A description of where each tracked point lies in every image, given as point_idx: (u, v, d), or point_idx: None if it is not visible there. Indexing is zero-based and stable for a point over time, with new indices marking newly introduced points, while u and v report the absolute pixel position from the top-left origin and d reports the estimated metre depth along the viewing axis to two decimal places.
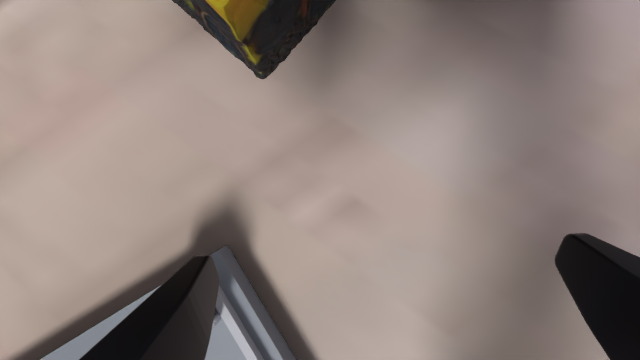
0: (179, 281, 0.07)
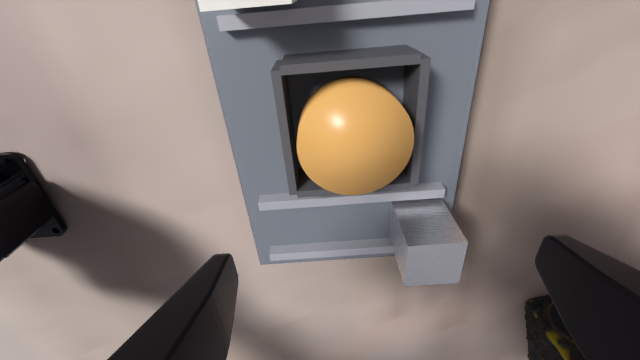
0: (202, 280, 0.07)
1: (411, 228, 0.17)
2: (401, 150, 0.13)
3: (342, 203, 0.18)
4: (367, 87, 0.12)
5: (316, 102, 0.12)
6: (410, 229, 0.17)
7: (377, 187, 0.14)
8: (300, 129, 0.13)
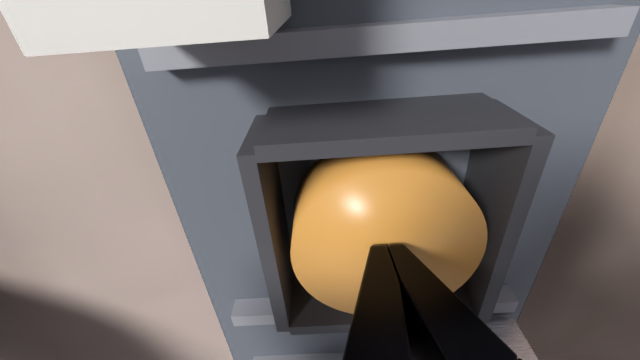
0: (381, 270, 0.07)
1: None
2: (462, 261, 0.08)
3: None
4: (415, 170, 0.07)
5: (325, 191, 0.07)
6: None
7: None
8: (297, 231, 0.08)
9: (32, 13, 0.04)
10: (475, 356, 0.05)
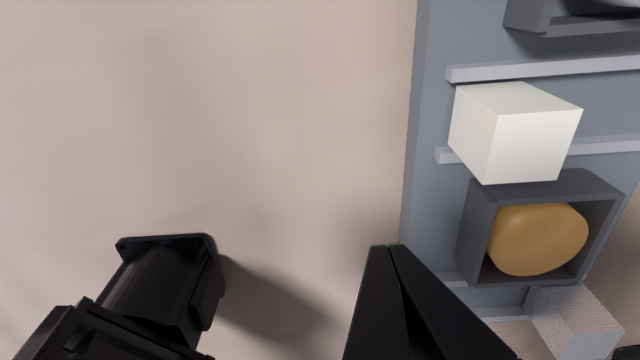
0: (381, 270, 0.07)
1: (567, 313, 0.19)
2: (573, 247, 0.17)
3: None
4: (562, 207, 0.16)
5: (519, 216, 0.16)
6: (567, 314, 0.19)
7: (545, 270, 0.18)
8: (501, 233, 0.17)
9: (493, 175, 0.13)
10: (475, 356, 0.05)
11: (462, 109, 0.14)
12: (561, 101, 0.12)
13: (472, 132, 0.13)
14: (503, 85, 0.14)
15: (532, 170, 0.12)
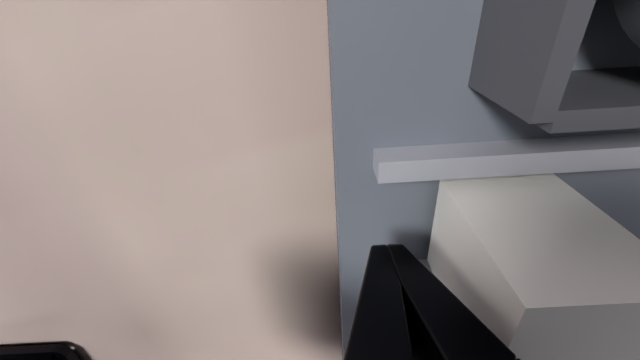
0: (382, 270, 0.07)
1: None
2: None
3: None
4: None
5: None
6: None
7: None
8: None
9: None
10: (474, 356, 0.05)
11: (449, 226, 0.08)
12: None
13: (467, 283, 0.07)
14: (522, 183, 0.08)
15: None
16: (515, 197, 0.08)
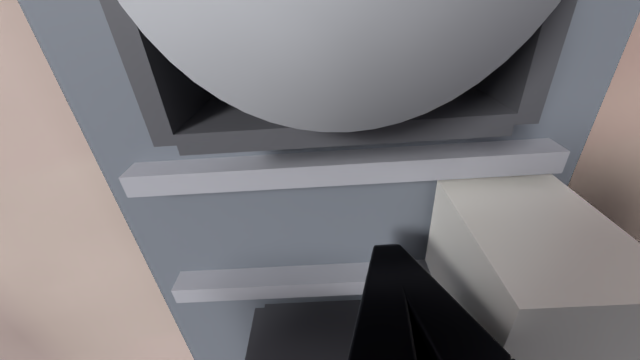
0: (385, 270, 0.07)
1: None
2: None
3: None
4: None
5: None
6: None
7: None
8: None
9: None
10: (469, 356, 0.05)
11: (446, 226, 0.08)
12: None
13: (463, 284, 0.07)
14: (520, 184, 0.08)
15: None
16: (512, 197, 0.07)
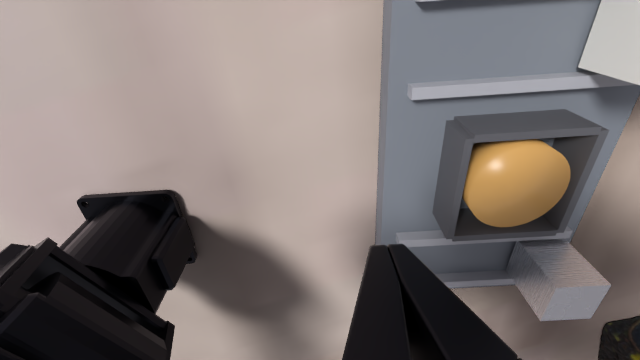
0: (381, 270, 0.07)
1: (550, 269, 0.18)
2: (555, 193, 0.16)
3: (476, 242, 0.20)
4: (541, 145, 0.15)
5: (496, 156, 0.15)
6: (550, 269, 0.18)
7: (526, 221, 0.17)
8: (478, 176, 0.16)
9: None
10: (475, 356, 0.05)
11: (614, 17, 0.13)
12: None
13: (636, 36, 0.12)
14: None
15: None
16: None
